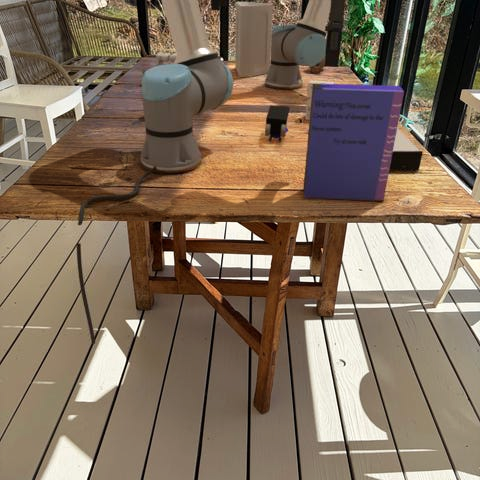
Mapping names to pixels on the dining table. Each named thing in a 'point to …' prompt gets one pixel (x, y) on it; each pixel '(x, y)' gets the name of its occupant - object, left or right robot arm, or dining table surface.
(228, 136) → the dining table surface
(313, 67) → the anatomical model
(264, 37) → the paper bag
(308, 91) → the box
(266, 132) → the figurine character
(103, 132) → the dining table surface
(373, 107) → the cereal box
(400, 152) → the disc drive
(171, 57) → the toy
